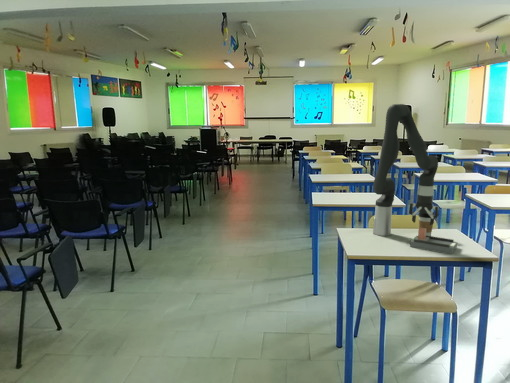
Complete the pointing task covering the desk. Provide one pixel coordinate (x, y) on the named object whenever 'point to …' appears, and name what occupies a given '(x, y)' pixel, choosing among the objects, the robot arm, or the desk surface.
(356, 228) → the desk surface
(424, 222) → the coffee cup
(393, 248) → the desk surface
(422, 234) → the handle
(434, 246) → the switch box
